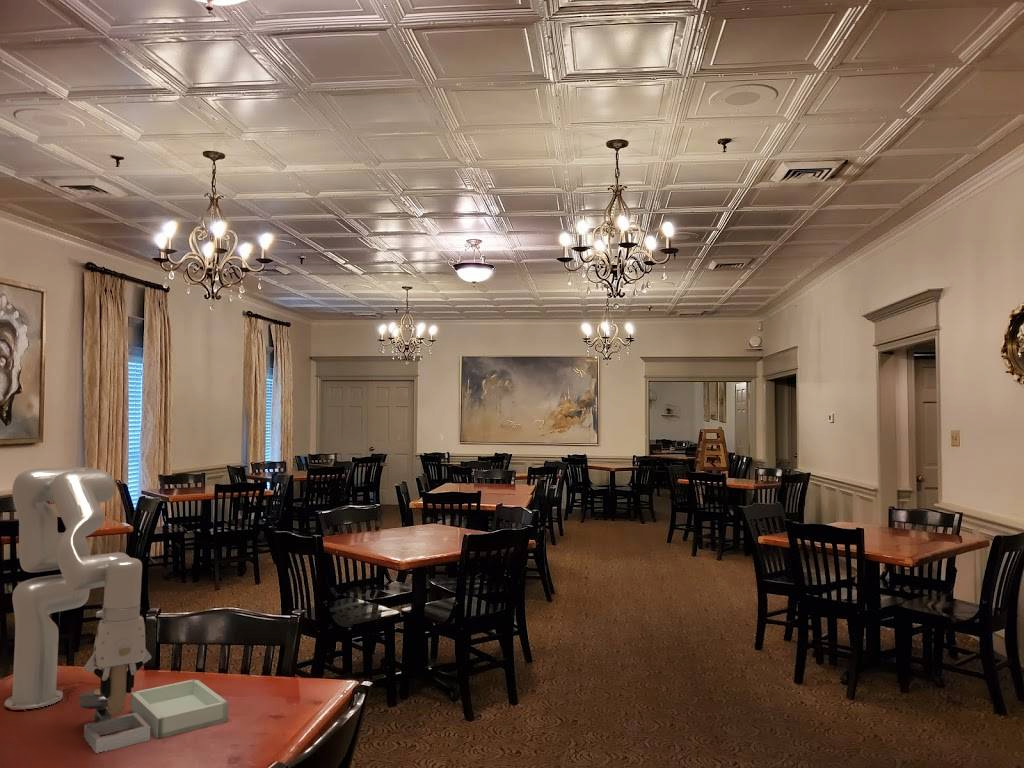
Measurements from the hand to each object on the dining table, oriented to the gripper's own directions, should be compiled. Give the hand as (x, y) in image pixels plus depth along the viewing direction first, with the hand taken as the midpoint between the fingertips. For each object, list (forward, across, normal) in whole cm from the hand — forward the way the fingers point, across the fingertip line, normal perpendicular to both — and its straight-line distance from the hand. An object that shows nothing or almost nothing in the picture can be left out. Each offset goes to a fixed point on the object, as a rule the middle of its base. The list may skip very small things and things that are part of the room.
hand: (116, 692), depth 170 cm
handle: (+5, 0, 0) cm, 5 cm away
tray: (+10, +15, +4) cm, 19 cm away
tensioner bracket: (+10, 0, +4) cm, 11 cm away
